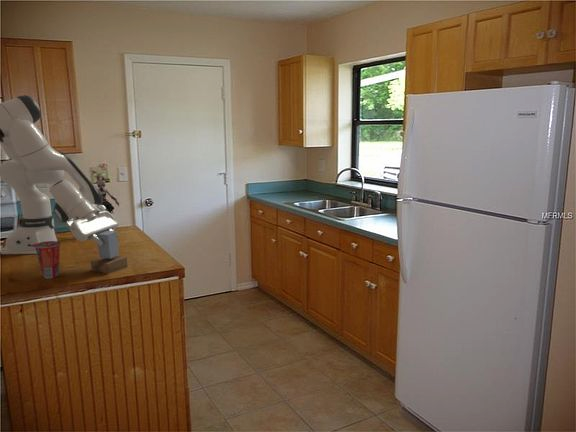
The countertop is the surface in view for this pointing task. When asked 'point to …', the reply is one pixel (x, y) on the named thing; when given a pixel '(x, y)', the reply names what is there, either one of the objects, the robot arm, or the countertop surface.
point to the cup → (48, 258)
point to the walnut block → (109, 264)
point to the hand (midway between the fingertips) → (108, 242)
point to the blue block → (108, 244)
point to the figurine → (103, 191)
